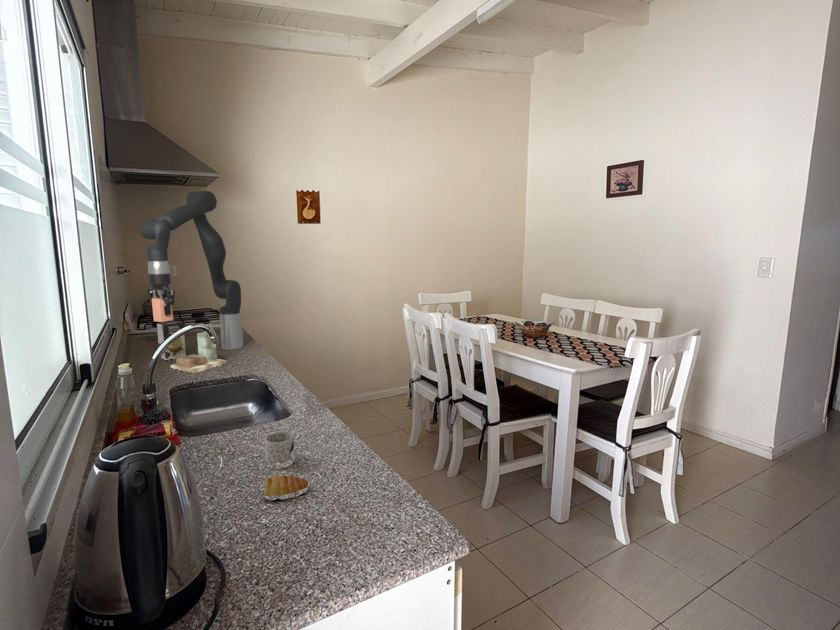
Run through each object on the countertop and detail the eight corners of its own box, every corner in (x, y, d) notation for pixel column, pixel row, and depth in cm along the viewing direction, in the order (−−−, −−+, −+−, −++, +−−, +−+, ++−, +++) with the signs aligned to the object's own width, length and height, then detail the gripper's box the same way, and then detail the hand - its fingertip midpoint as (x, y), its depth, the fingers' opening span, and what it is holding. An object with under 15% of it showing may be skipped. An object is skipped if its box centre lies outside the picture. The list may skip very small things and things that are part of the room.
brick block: (165, 318, 197) (163, 297, 195) (173, 320, 194) (171, 298, 193) (153, 321, 192) (151, 298, 191) (161, 322, 190) (159, 299, 188)
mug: (297, 465, 115) (296, 439, 114) (269, 472, 112) (268, 445, 111) (287, 449, 124) (286, 425, 123) (260, 455, 121) (259, 430, 120)
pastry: (308, 483, 108) (307, 467, 107) (309, 499, 101) (309, 482, 101) (264, 488, 105) (263, 472, 104) (263, 505, 99) (262, 488, 98)
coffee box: (166, 361, 210) (162, 324, 207) (159, 358, 213) (155, 323, 211) (186, 357, 217) (183, 322, 214) (179, 354, 221) (176, 320, 218)
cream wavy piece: (203, 359, 212) (201, 329, 210) (226, 363, 206) (224, 332, 204) (170, 368, 198) (168, 336, 196) (194, 373, 192) (191, 340, 190)
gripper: (179, 272, 190) (183, 314, 193) (156, 270, 196) (160, 311, 199) (162, 273, 183) (166, 317, 186) (138, 272, 190) (143, 314, 193)
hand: (163, 314), depth 193 cm, fingers closed on brick block, 5 cm apart
